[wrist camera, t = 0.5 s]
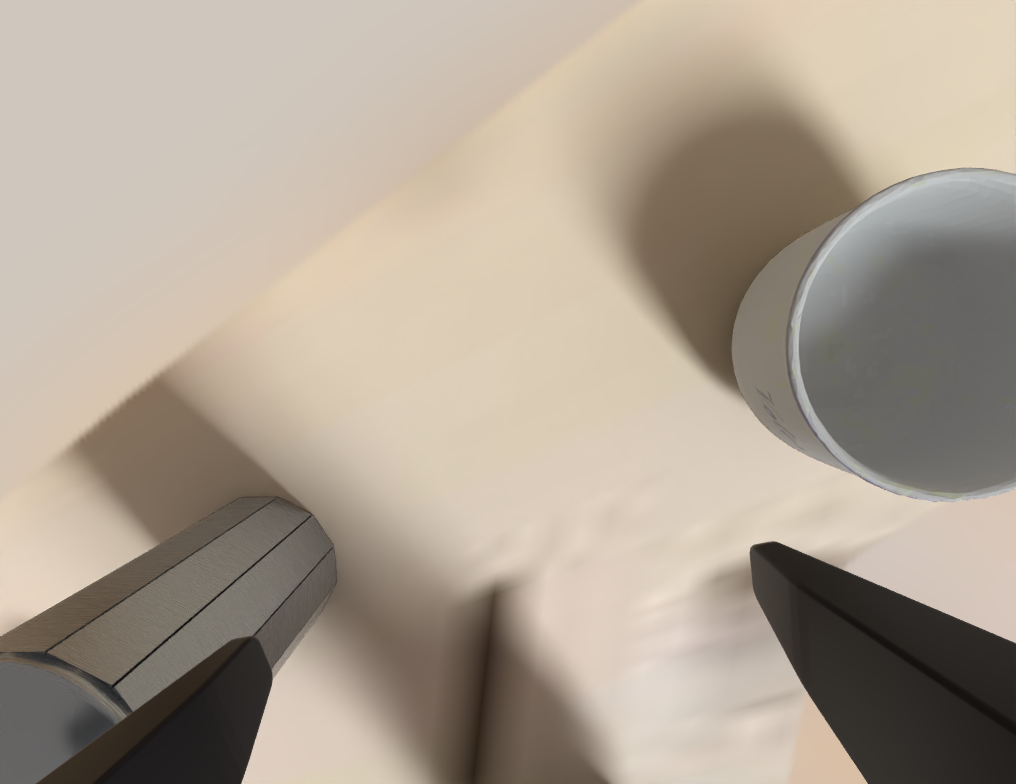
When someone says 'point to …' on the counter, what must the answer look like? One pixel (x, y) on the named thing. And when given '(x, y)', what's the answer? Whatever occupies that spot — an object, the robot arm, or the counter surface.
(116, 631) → the steel cup
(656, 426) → the counter surface
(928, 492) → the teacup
